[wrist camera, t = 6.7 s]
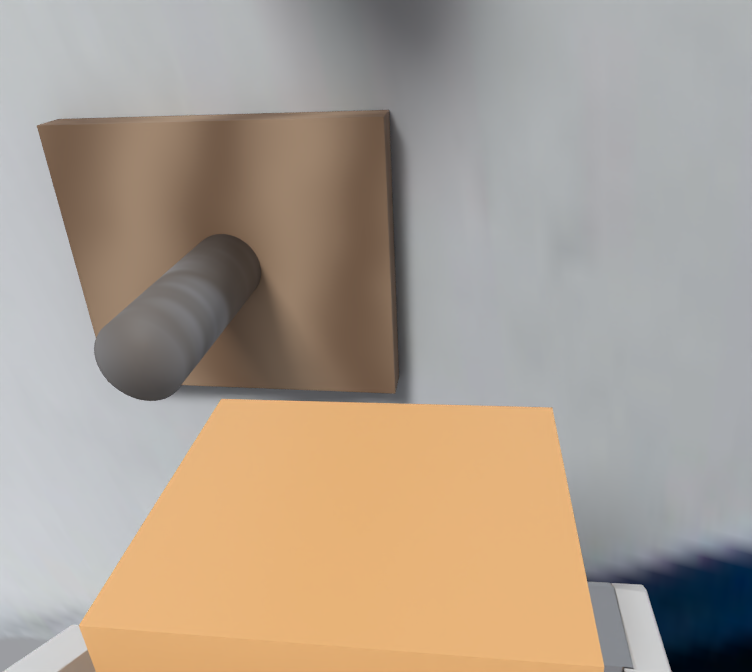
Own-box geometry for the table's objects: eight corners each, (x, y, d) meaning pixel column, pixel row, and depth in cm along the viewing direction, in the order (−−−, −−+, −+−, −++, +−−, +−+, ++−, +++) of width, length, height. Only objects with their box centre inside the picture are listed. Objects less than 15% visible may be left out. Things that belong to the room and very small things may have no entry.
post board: (388, 110, 25) (341, 168, 17) (399, 376, 31) (366, 519, 22) (58, 119, 27) (-130, 174, 19) (123, 366, 33) (0, 493, 24)
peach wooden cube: (552, 407, 11) (604, 667, 7) (532, 642, 14) (561, 936, 10) (221, 398, 12) (79, 626, 8) (263, 622, 15) (174, 884, 10)
